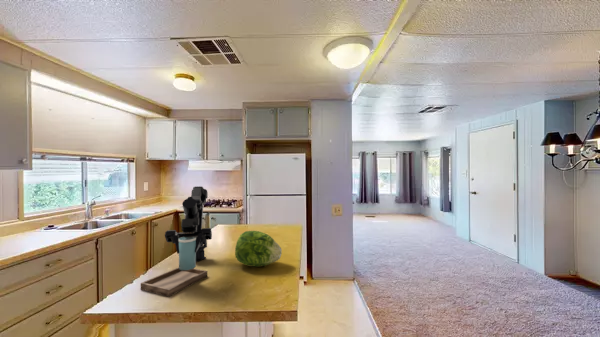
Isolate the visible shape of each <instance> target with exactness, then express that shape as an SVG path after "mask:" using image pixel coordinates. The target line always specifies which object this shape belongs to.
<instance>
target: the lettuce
mask: <svg viewBox="0 0 600 337" xmlns="http://www.w3.org/2000/svg"><path fill="white" fill-rule="evenodd" d="M234 253H235V254H234V255H235V256H234V257H235V258H236V260H237V261H238V262H239V263H241V264H243V265H245V266H248V267H249V266H250V267H265V266H268V265H271V264H273V263H276V262H277V261H279V260H280V258H281V257H282V247H281V246H280V244H279V243H278V242H276V241H275V239H274V238H273V237H272V236H271V235H269V234H268V233H264V232H262V231H257V230H246V231H244V232H242V233H241V234H239V237H238V239H237V241H236V244H235V251H234Z"/></svg>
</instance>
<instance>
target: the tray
mask: <svg viewBox="0 0 600 337" xmlns="http://www.w3.org/2000/svg"><path fill="white" fill-rule="evenodd" d="M206 278H208V270H203V269H198V268H193V269H190V270H179V266H178V267H177V268H173V269H172V270H169V271H167V272H164V273H161V274H159V275H157V276H155V277H152V278H150V279H147V280H145V281H143V282H140V291H141V290H142V291H145V292H148V293H154V294H156V295H162V296H165V297H168V298H169V297H171V296H173V295H175V294H176V293H178V292H179V293H180V292H181V291H182V290H184V289H186V288H189V287H191V286H192V285H195V284H196V283H198V282H200V281H202V280H204V279H206Z"/></svg>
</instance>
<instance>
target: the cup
mask: <svg viewBox="0 0 600 337" xmlns="http://www.w3.org/2000/svg"><path fill="white" fill-rule="evenodd" d="M195 247H196V236H184V237H180V238H179V254H178V267H179V270H190V269H193V268H194V269H196V266H197V261H196V253H195Z"/></svg>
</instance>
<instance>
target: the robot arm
mask: <svg viewBox="0 0 600 337" xmlns="http://www.w3.org/2000/svg"><path fill="white" fill-rule="evenodd" d="M190 195H191V196H188V197H187V198H186V199H184V200H183V201H182V209H183V214H184V215H185V217H184V218H183V219H181V231H182V232H178V231H177V230H176V229H170V230H169V229H168V230H166V231H165V232H164V238H165V241H166V242H167V243H172V244H175V248H176V249H175V250H176V253H177V255H179V238H181V237H184V236H196V247H195V253H196V263H197V262H200V261H202V260H206V259H207V256H205V249H206V248H208V240H212V238H213V232H212V228H210V227H207V228H203V216H204V215H203V214H204V212H203V211H204V206H205V205H206V203H207V199H208V196H209V194H208V189H206V188H204V187H203V186H201V185H200V186H197V185H196V186H193V188H192V189H191V194H190Z"/></svg>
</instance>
